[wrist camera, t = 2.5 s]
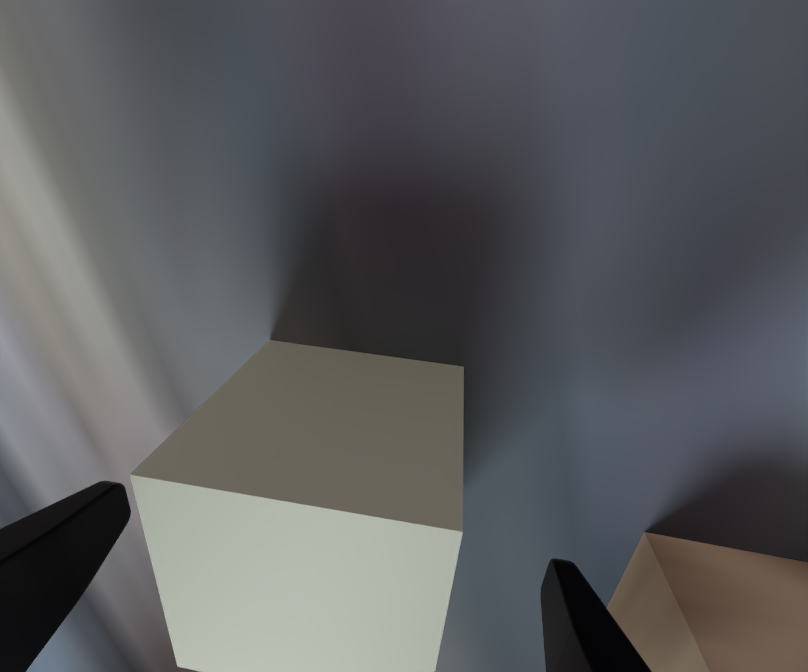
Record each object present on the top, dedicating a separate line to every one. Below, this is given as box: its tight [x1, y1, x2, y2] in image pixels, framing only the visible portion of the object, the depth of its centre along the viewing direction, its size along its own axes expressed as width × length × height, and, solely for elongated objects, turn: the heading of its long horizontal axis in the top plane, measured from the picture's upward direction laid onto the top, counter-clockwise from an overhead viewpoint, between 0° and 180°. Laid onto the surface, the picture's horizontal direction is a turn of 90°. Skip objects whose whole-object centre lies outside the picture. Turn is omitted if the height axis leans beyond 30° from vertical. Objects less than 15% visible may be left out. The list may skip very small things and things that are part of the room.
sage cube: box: [130, 340, 464, 672], centre depth 9 cm, size 5×5×5 cm
